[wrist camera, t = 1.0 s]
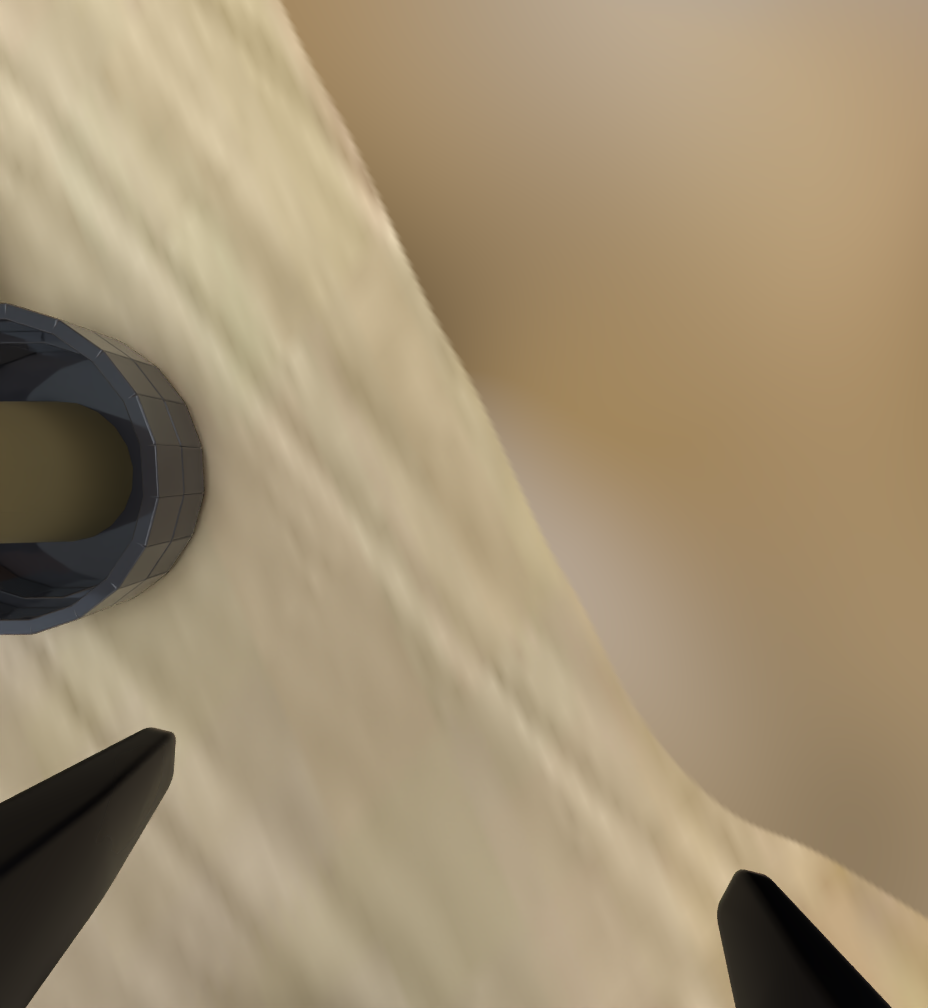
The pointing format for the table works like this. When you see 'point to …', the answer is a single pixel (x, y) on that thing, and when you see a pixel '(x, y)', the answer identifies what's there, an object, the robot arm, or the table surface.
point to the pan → (155, 484)
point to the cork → (59, 472)
